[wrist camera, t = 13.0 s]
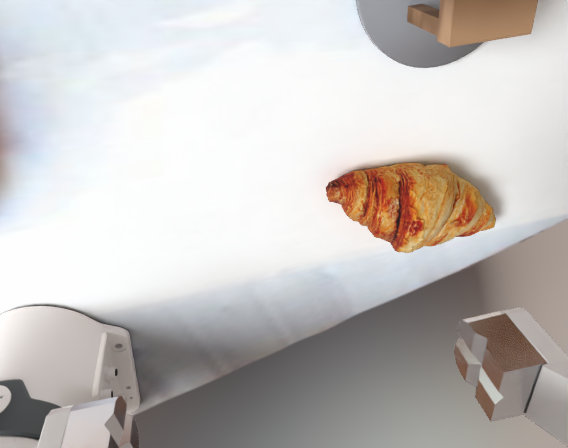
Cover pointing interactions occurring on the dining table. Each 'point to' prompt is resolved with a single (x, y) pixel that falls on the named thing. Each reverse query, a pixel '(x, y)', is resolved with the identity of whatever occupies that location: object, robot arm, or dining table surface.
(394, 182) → the croissant
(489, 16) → the stool
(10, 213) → the dining table surface
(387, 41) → the grey flat disc
